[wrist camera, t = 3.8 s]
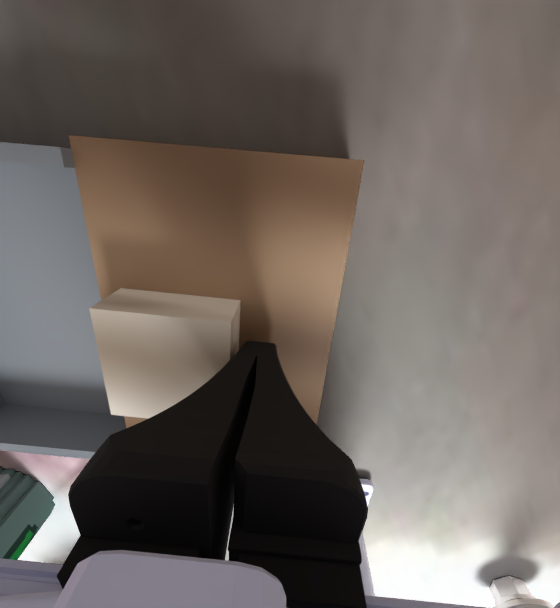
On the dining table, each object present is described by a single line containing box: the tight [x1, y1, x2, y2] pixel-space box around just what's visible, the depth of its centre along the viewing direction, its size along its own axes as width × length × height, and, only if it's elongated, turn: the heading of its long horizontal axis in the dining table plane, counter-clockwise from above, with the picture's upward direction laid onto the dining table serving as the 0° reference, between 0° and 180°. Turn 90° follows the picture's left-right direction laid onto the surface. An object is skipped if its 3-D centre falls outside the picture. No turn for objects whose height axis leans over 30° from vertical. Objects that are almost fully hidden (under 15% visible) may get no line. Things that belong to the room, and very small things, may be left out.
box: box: [0, 142, 126, 459], centre depth 14 cm, size 15×10×3 cm, turn 176°
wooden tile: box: [89, 288, 241, 419], centre depth 12 cm, size 5×5×2 cm
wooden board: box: [68, 135, 364, 428], centre depth 14 cm, size 16×10×2 cm, turn 176°
